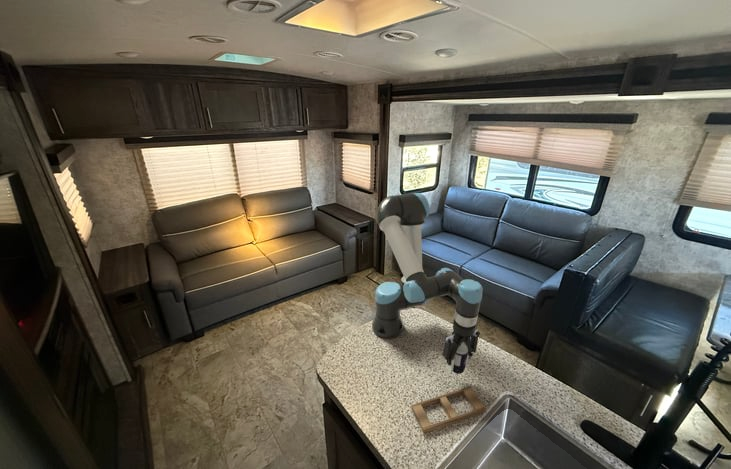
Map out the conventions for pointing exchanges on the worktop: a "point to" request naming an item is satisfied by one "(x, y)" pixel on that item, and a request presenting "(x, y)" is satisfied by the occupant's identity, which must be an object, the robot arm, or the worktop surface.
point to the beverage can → (460, 359)
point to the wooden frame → (447, 409)
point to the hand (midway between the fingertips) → (456, 367)
